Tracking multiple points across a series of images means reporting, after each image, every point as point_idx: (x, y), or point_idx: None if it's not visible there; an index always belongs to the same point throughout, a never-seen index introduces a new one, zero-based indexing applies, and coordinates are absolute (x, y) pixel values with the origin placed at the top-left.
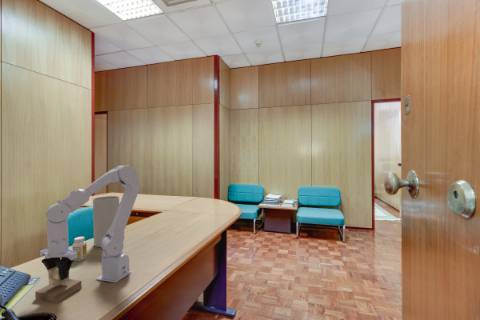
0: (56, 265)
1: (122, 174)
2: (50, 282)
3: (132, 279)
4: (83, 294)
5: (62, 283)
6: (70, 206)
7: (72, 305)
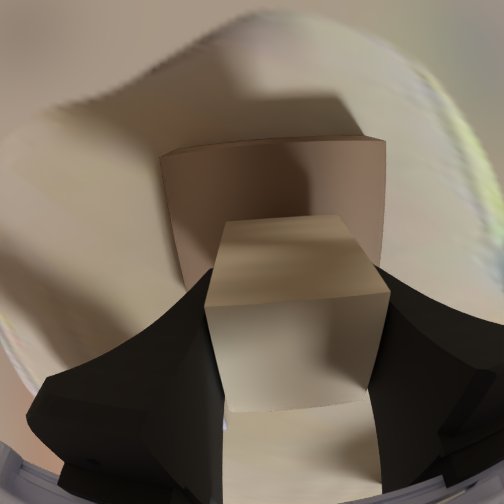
0: (377, 380)
1: None
2: (320, 223)
3: None
4: (123, 265)
5: None
6: None
7: (71, 176)
